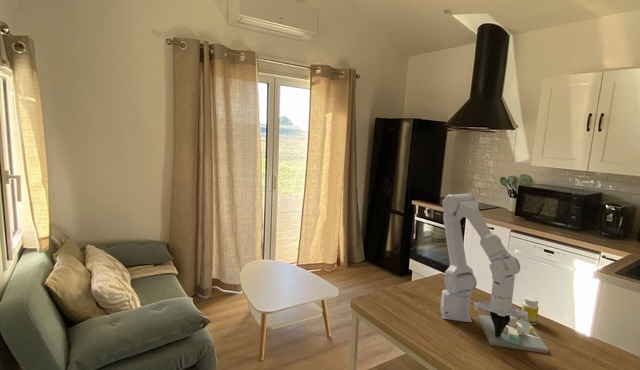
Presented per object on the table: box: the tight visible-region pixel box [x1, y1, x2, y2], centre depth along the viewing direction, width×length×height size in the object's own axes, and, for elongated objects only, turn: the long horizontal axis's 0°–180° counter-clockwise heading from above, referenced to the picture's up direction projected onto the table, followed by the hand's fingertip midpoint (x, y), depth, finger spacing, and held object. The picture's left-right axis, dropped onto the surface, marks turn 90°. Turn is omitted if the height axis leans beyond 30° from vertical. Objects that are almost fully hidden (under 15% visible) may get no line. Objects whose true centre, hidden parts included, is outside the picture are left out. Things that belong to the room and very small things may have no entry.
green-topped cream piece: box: [503, 322, 523, 345], centre depth 105 cm, size 11×6×2 cm, turn 157°
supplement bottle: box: [520, 295, 539, 325], centre depth 116 cm, size 5×5×8 cm
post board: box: [477, 314, 550, 354], centre depth 108 cm, size 16×16×6 cm
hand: (497, 335), depth 104 cm, fingers closed
